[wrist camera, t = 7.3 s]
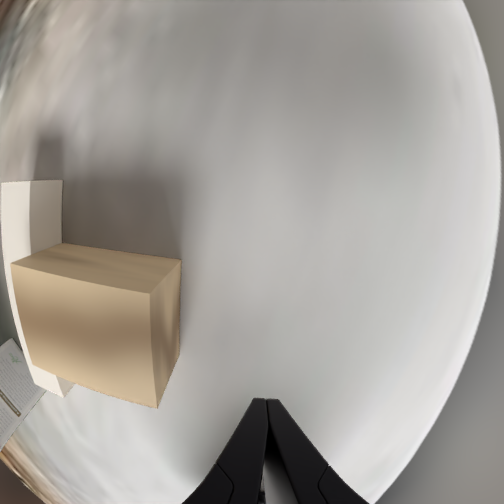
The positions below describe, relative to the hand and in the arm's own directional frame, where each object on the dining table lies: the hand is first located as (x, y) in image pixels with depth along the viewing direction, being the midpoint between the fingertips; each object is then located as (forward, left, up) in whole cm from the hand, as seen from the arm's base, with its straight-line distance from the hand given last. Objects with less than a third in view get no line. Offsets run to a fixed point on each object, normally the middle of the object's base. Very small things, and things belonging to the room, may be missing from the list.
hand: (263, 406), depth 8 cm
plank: (0, +14, -7) cm, 16 cm away
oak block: (0, +9, -7) cm, 11 cm away
